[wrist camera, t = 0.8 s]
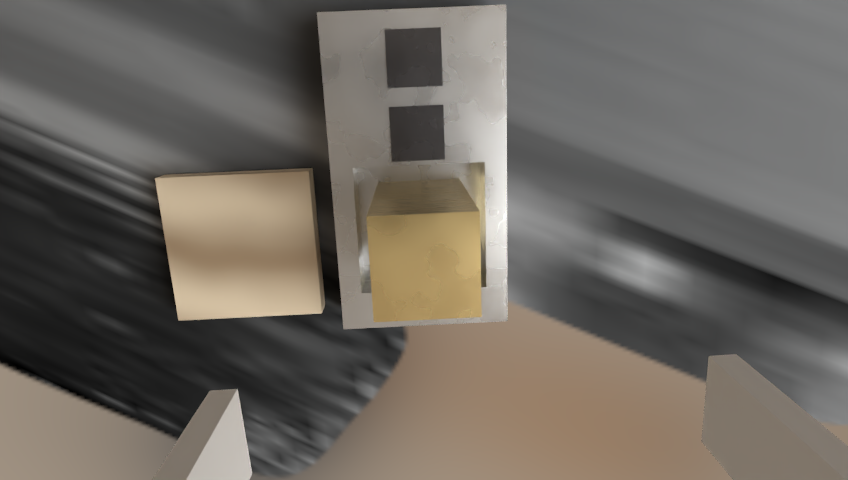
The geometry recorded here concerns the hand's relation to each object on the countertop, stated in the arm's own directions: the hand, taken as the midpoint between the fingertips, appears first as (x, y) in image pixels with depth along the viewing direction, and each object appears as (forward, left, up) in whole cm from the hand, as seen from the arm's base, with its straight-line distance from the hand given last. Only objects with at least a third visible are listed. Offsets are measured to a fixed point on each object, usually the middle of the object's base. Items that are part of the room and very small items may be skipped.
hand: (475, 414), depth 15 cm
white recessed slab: (-4, -1, -21) cm, 21 cm away
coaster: (0, -12, -21) cm, 24 cm away
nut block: (-1, -1, -20) cm, 20 cm away
